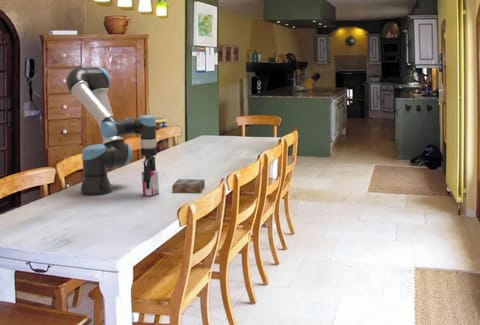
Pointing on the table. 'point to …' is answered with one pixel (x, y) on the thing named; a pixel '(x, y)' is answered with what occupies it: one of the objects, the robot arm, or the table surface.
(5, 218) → the table surface
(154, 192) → the supplement box
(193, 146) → the table surface
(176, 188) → the walnut stand
